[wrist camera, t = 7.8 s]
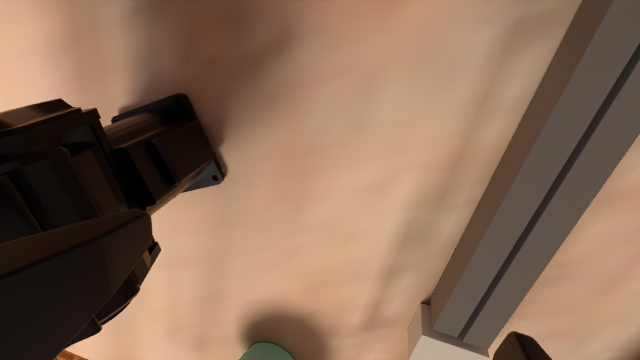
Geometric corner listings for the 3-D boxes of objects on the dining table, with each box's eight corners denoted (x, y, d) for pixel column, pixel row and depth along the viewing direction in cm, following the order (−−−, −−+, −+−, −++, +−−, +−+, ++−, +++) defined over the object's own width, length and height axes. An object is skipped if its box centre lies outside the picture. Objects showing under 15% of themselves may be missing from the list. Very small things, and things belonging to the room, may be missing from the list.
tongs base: (469, 350, 25) (476, 386, 23) (407, 329, 26) (407, 362, 23) (780, -120, 12) (878, -155, 9) (637, -141, 12) (693, -179, 10)
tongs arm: (452, 306, 23) (457, 337, 21) (419, 295, 24) (420, 325, 21) (706, -142, 12) (777, -179, 10) (635, -152, 12) (687, -191, 10)
